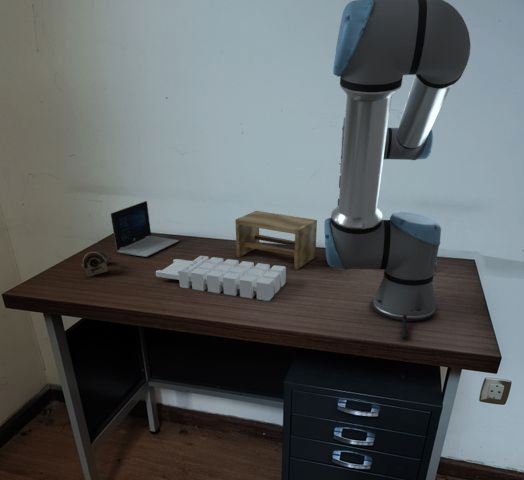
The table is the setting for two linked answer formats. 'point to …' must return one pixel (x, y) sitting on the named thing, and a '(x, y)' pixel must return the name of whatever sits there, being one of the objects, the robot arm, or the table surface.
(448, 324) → the table surface
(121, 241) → the laptop
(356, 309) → the table surface
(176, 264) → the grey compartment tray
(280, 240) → the two-tier rack
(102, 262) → the brown rounded piece
